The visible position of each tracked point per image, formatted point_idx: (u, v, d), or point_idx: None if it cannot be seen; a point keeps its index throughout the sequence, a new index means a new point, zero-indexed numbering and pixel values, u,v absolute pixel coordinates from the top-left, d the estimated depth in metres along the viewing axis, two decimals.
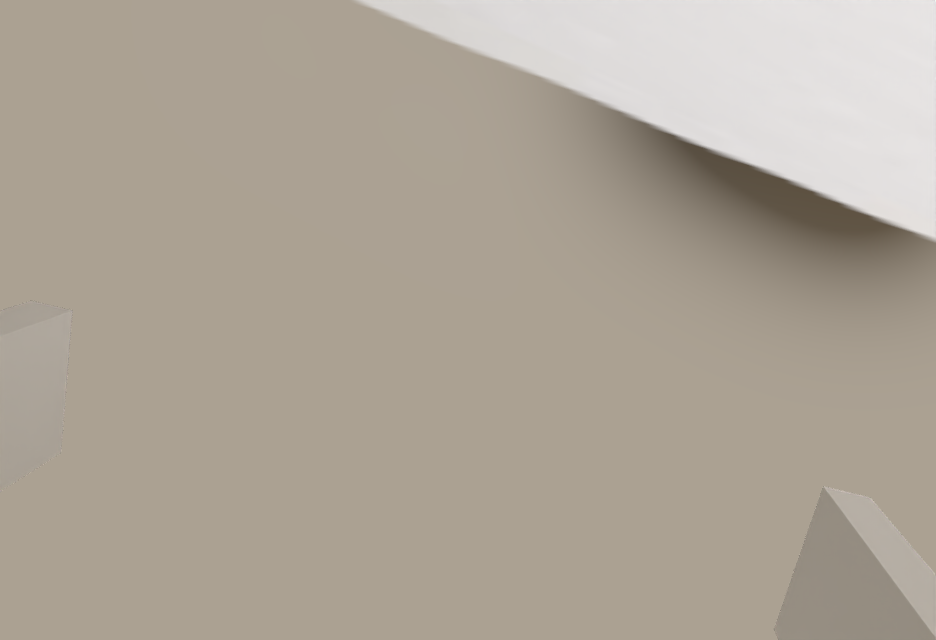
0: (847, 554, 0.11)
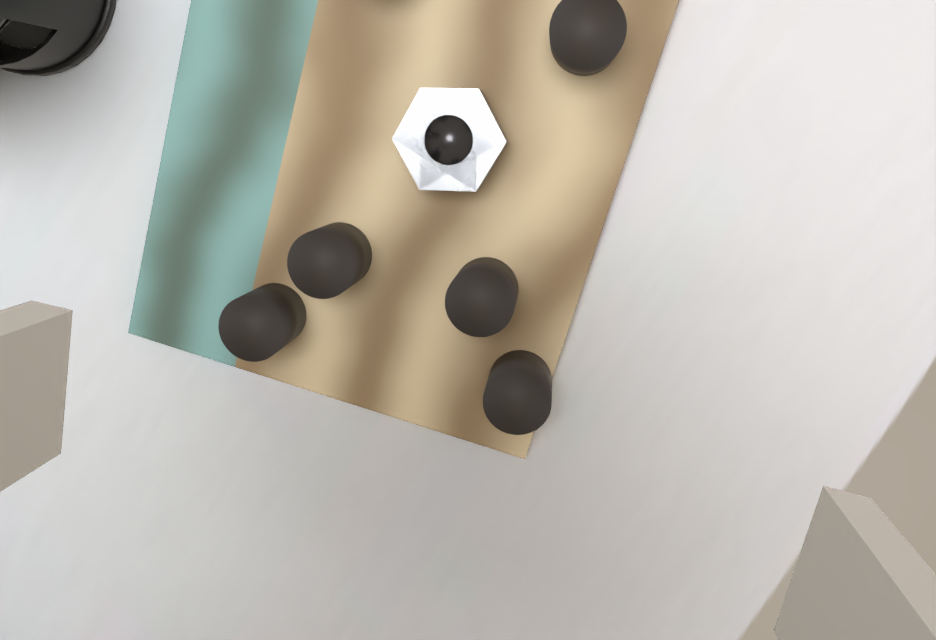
0: (847, 554, 0.11)
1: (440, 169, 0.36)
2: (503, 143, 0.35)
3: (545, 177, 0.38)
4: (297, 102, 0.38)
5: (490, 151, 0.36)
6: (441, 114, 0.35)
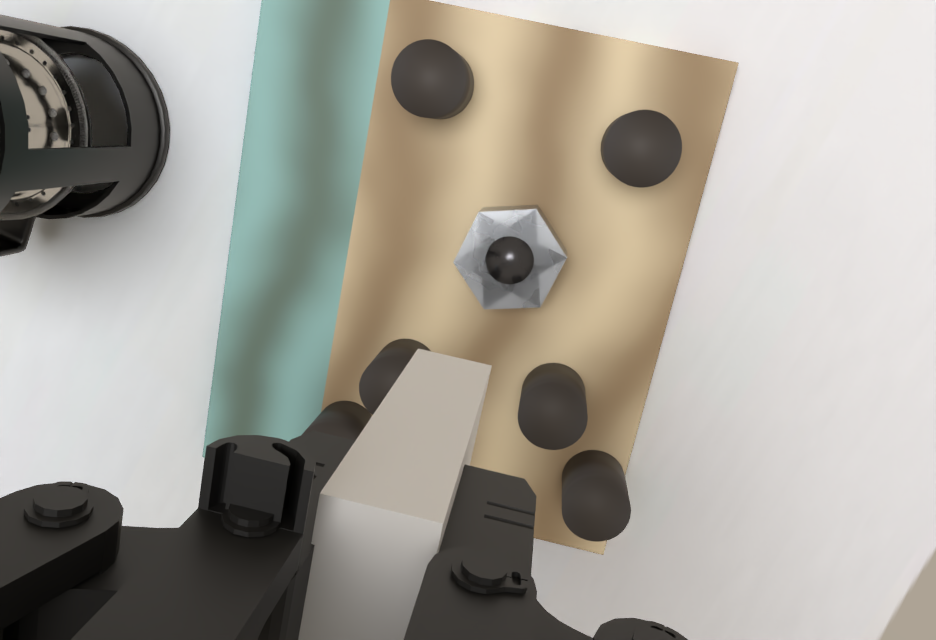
0: None
1: (503, 288, 0.37)
2: (564, 259, 0.36)
3: (605, 282, 0.38)
4: (354, 227, 0.39)
5: (552, 268, 0.36)
6: (501, 236, 0.36)
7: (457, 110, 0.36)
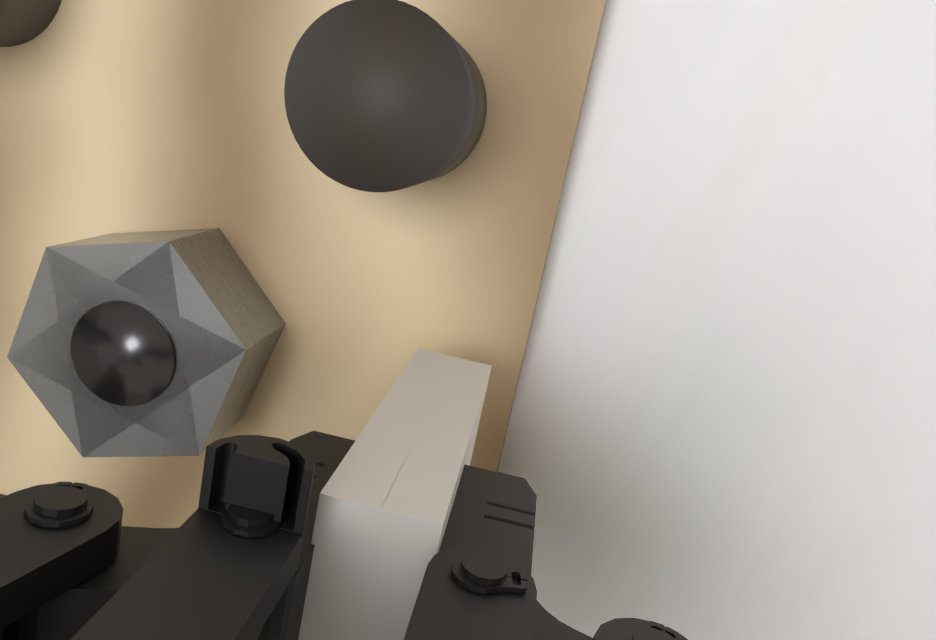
0: None
1: (120, 412, 0.17)
2: (241, 353, 0.16)
3: (367, 389, 0.18)
4: None
5: (215, 372, 0.16)
6: (99, 301, 0.16)
7: None
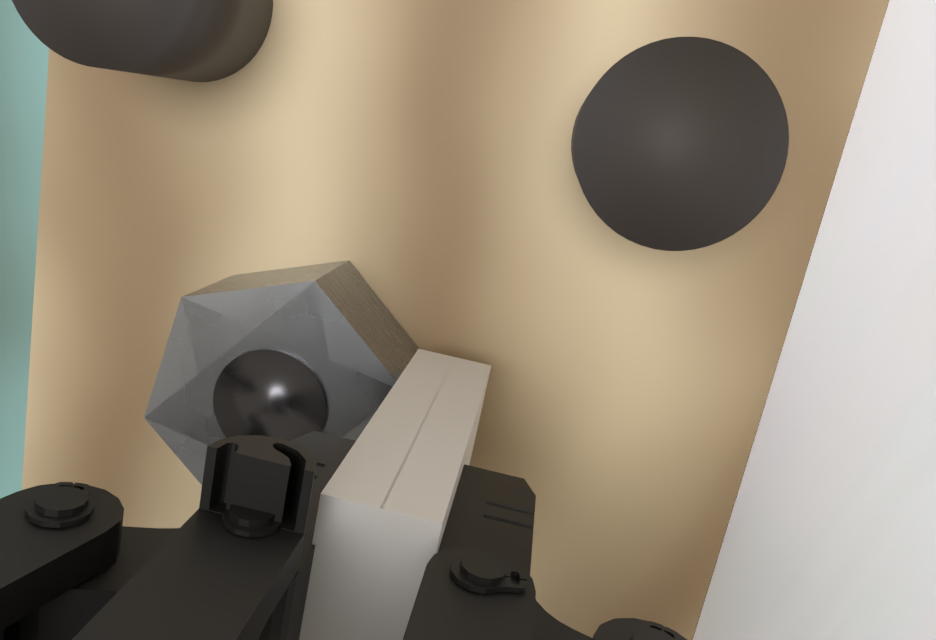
0: None
1: None
2: None
3: (585, 447, 0.17)
4: (37, 322, 0.18)
5: (371, 417, 0.15)
6: (241, 351, 0.15)
7: (217, 55, 0.15)
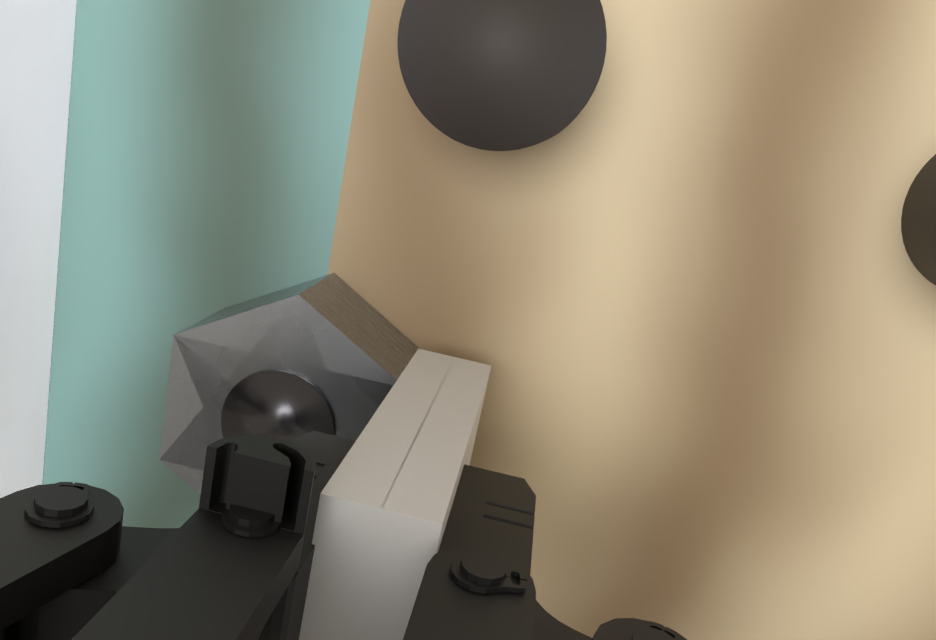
0: None
1: None
2: None
3: (888, 518, 0.17)
4: None
5: None
6: (240, 376, 0.15)
7: (564, 128, 0.14)
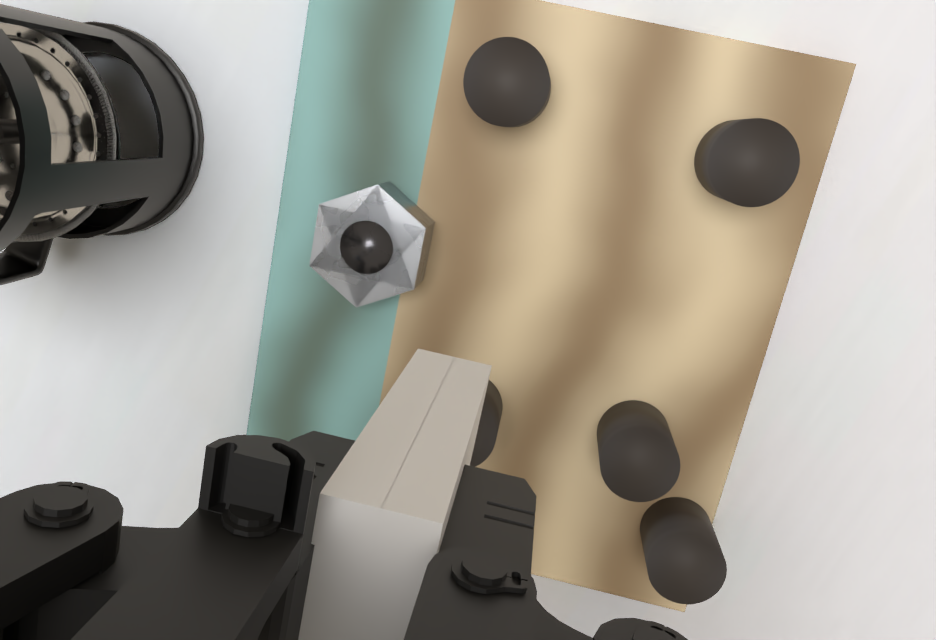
0: None
1: (370, 279, 0.33)
2: (423, 231, 0.32)
3: (695, 311, 0.34)
4: None
5: (413, 243, 0.32)
6: (349, 223, 0.32)
7: (534, 117, 0.32)
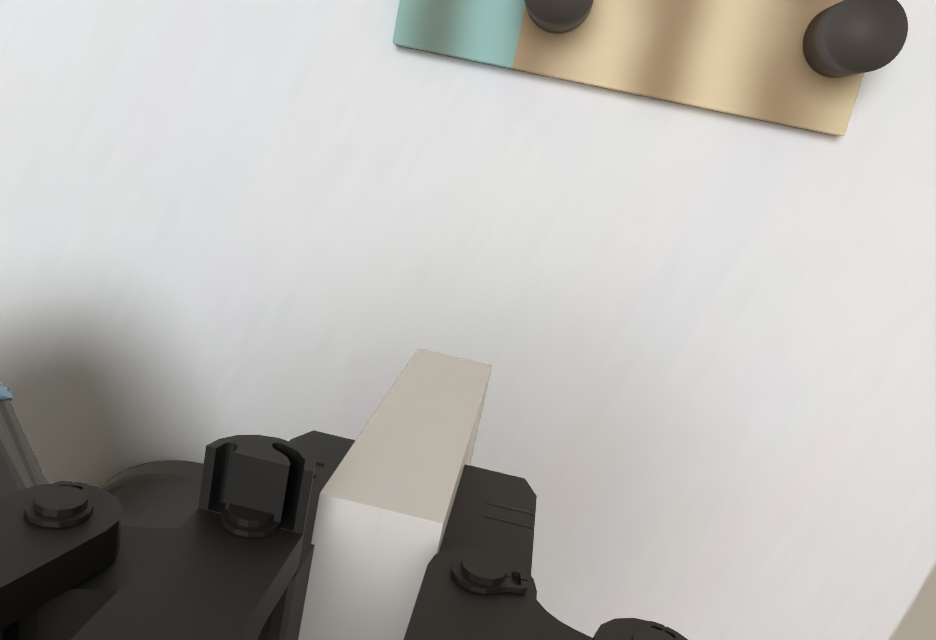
0: None
1: None
2: None
3: None
4: None
5: None
6: None
7: None
